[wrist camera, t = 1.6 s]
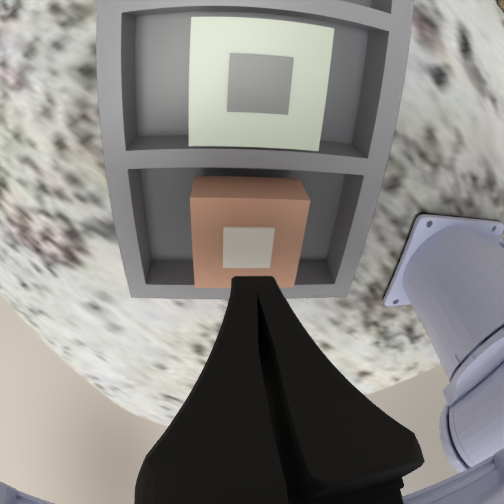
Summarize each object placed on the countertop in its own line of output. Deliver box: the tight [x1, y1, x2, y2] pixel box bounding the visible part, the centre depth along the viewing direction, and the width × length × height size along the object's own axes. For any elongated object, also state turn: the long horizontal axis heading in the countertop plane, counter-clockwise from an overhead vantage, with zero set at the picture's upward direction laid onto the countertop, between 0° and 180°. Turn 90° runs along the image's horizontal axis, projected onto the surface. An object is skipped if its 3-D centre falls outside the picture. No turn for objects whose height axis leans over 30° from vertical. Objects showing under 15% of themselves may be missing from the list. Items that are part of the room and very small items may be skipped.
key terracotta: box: [190, 176, 310, 288], centre depth 14 cm, size 4×4×2 cm
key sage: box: [189, 17, 334, 151], centre depth 10 cm, size 4×4×2 cm
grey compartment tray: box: [96, 0, 414, 299], centre depth 12 cm, size 12×22×3 cm, turn 176°
